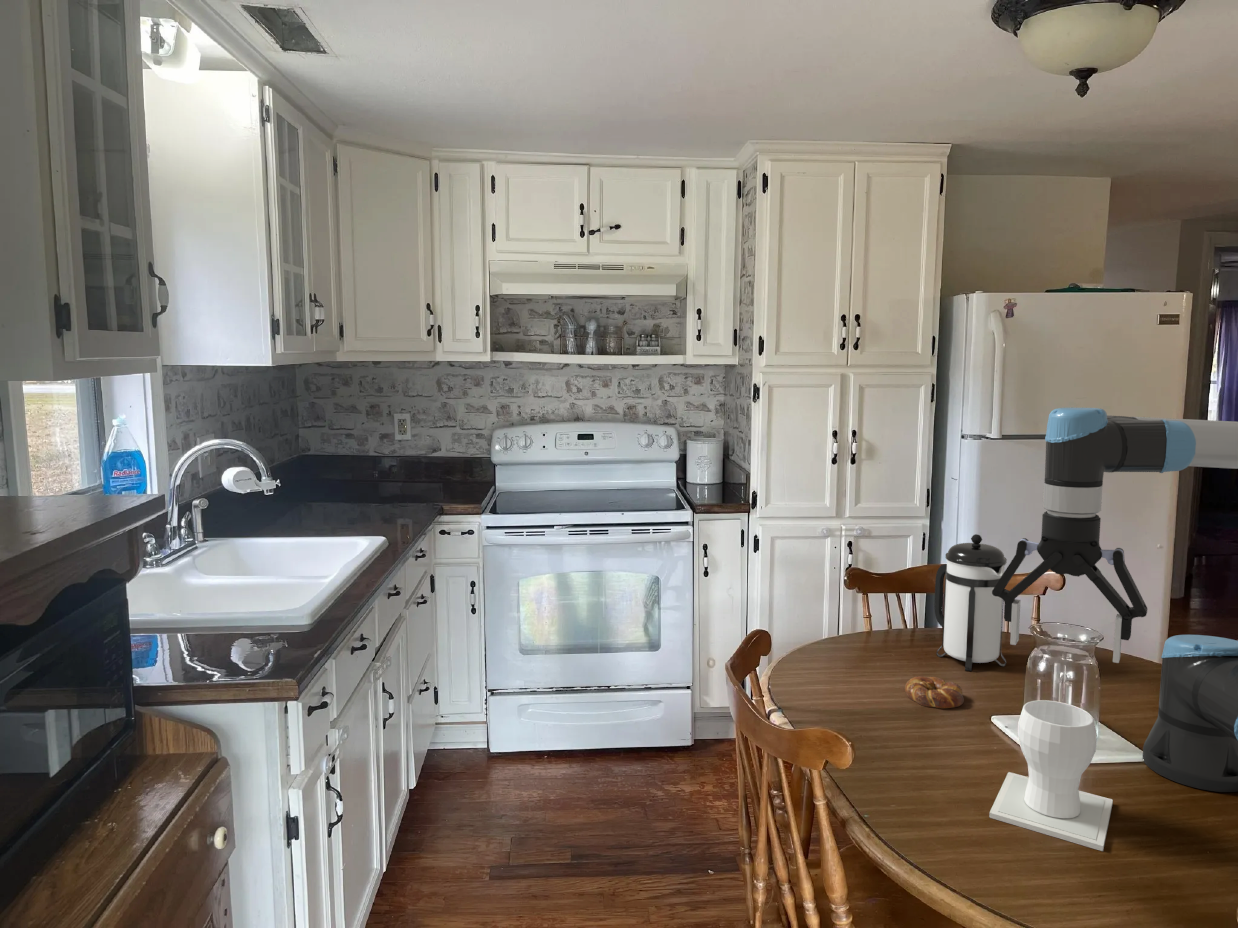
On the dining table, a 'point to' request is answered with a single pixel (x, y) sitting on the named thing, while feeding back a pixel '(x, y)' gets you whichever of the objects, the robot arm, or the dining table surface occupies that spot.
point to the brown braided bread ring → (934, 692)
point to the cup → (1055, 755)
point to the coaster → (1078, 830)
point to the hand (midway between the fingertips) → (1063, 650)
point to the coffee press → (970, 602)
